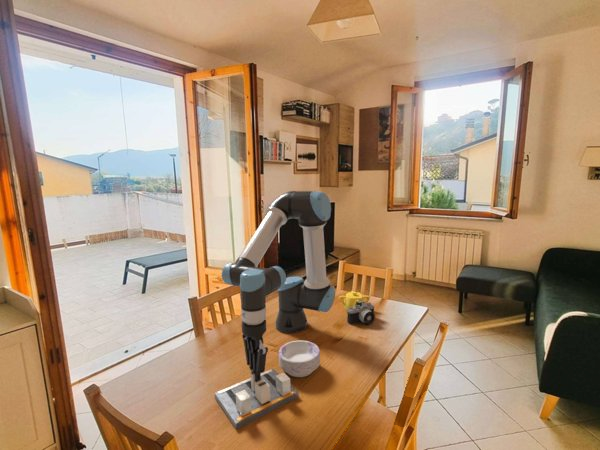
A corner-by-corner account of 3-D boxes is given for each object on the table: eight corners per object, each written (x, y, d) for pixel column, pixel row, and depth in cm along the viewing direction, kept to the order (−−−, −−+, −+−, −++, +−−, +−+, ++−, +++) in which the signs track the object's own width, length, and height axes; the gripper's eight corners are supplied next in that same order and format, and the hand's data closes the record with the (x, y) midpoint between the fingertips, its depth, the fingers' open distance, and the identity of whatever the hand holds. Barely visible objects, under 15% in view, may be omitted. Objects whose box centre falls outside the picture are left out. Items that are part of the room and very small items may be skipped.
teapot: (373, 311, 167) (373, 293, 165) (357, 319, 159) (357, 299, 157) (352, 304, 177) (352, 286, 176) (336, 310, 169) (336, 292, 167)
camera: (354, 330, 148) (355, 309, 146) (344, 322, 156) (344, 302, 154) (381, 323, 154) (381, 303, 153) (369, 315, 162) (369, 297, 161)
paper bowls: (273, 363, 122) (272, 344, 121) (309, 354, 128) (309, 336, 127) (287, 387, 109) (287, 366, 107) (327, 376, 115) (327, 355, 113)
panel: (215, 398, 104) (213, 378, 103) (273, 373, 117) (272, 354, 115) (236, 429, 91) (234, 406, 90) (298, 397, 104) (298, 377, 103)
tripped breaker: (255, 397, 101) (254, 382, 100) (263, 393, 103) (263, 378, 102) (261, 404, 98) (261, 389, 97) (270, 400, 99) (269, 385, 99)
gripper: (233, 315, 102) (236, 382, 106) (252, 331, 92) (255, 405, 96) (254, 309, 107) (256, 374, 110) (275, 324, 96) (276, 395, 100)
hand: (256, 388), depth 103 cm, fingers closed
